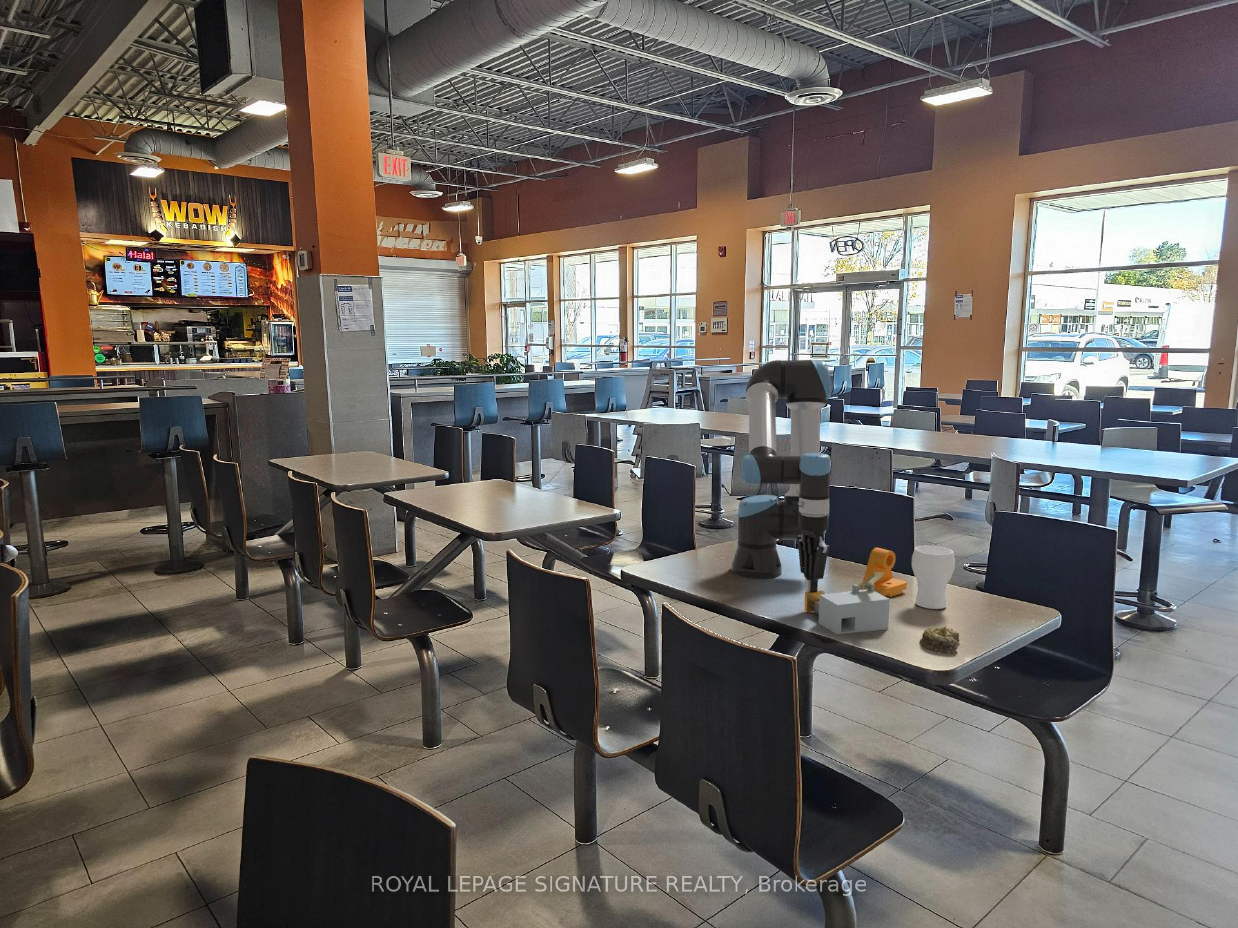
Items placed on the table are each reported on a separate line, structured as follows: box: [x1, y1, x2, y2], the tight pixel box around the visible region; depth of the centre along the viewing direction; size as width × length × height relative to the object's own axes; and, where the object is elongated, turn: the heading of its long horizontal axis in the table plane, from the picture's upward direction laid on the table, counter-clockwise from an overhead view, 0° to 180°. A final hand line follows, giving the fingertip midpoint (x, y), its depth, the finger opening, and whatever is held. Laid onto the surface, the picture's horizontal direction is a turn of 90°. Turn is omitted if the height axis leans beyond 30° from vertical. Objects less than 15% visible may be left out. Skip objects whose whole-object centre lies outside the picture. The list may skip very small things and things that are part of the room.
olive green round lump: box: [919, 625, 961, 655], centre depth 181 cm, size 10×10×5 cm
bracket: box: [862, 547, 907, 598], centre depth 220 cm, size 11×7×12 cm, turn 126°
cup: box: [911, 544, 956, 610], centre depth 209 cm, size 11×11×15 cm
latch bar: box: [857, 572, 884, 590], centre depth 193 cm, size 9×3×1 cm
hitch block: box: [818, 583, 891, 635], centre depth 193 cm, size 8×14×10 cm, turn 106°
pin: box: [803, 590, 844, 624], centre depth 198 cm, size 12×5×5 cm, turn 16°
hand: (810, 602), depth 204 cm, fingers closed
